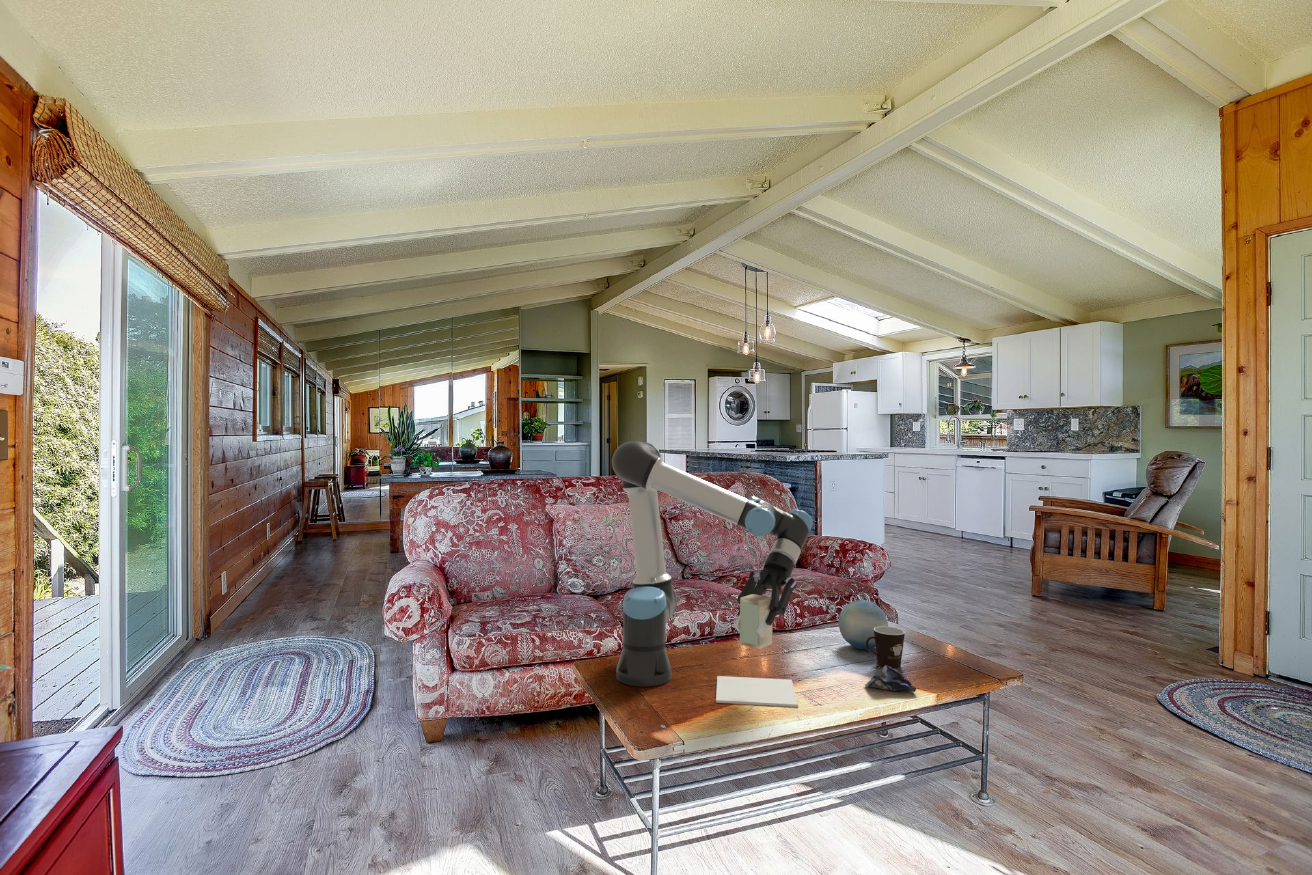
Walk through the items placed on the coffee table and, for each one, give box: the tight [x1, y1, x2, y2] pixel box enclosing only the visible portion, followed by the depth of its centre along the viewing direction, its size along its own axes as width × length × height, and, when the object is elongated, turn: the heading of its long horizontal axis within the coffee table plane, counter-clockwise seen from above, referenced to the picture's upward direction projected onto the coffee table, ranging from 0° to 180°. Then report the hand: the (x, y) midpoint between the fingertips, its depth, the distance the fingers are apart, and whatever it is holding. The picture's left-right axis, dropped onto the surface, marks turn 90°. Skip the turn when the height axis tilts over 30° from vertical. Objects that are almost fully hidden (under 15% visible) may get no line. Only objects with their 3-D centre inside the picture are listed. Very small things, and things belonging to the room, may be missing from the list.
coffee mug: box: [866, 626, 906, 670], centre depth 192 cm, size 12×9×10 cm
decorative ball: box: [838, 599, 889, 650], centre depth 208 cm, size 15×15×15 cm
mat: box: [715, 675, 799, 708], centre depth 170 cm, size 20×17×1 cm
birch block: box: [739, 594, 773, 650], centre depth 170 cm, size 6×6×12 cm
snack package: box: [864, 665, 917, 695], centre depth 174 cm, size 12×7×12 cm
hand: (748, 631), depth 168 cm, fingers closed on birch block, 6 cm apart
